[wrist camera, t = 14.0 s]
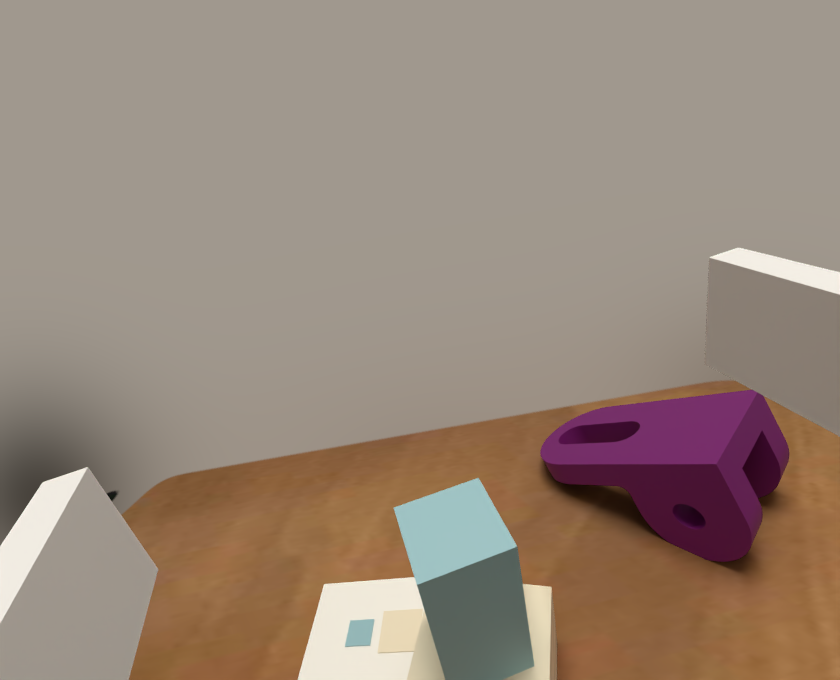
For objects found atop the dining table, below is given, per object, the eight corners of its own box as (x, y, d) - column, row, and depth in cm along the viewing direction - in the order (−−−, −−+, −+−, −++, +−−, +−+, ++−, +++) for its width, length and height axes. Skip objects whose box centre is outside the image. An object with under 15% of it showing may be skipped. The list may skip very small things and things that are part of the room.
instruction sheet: (293, 701, 34) (291, 698, 34) (325, 585, 42) (323, 583, 42) (458, 695, 32) (458, 693, 32) (459, 575, 40) (459, 573, 40)
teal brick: (451, 701, 27) (417, 584, 22) (427, 619, 31) (393, 507, 27) (534, 666, 27) (517, 546, 23) (498, 590, 32) (478, 477, 27)
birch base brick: (421, 753, 30) (401, 702, 27) (447, 626, 37) (433, 574, 34) (555, 784, 27) (548, 731, 25) (557, 641, 34) (551, 586, 31)
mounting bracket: (564, 537, 48) (772, 570, 33) (522, 464, 48) (716, 464, 32) (610, 476, 54) (807, 481, 39) (573, 410, 53) (760, 388, 38)
